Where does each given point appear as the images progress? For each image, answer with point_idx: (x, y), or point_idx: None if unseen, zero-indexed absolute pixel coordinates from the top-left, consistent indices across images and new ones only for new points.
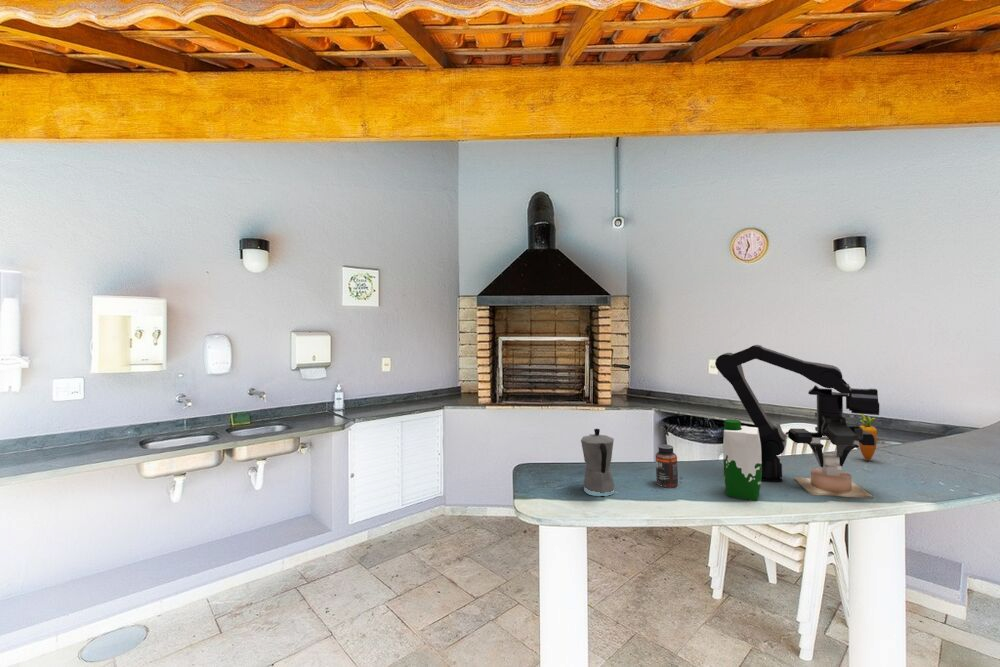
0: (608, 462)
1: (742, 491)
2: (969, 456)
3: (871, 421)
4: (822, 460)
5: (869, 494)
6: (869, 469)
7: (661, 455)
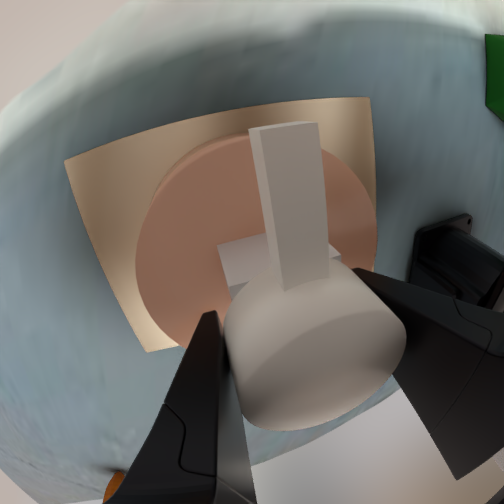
0: None
1: None
2: (16, 474)
3: None
4: (393, 295)
5: (72, 176)
6: (105, 443)
7: None
